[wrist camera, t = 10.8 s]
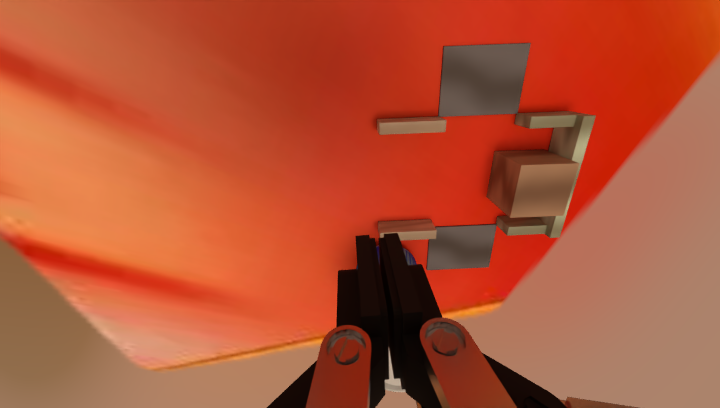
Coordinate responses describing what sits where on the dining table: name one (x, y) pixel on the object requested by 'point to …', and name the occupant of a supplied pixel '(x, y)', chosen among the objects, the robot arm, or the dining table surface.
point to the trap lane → (485, 97)
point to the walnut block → (531, 182)
